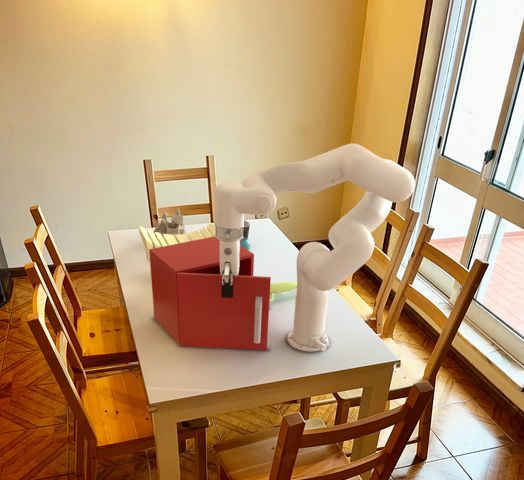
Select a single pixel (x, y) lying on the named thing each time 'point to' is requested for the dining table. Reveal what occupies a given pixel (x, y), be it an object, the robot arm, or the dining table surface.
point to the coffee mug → (246, 227)
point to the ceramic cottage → (171, 225)
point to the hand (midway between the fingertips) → (228, 289)
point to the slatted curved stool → (172, 238)
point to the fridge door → (223, 311)
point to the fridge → (185, 261)
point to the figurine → (281, 288)
